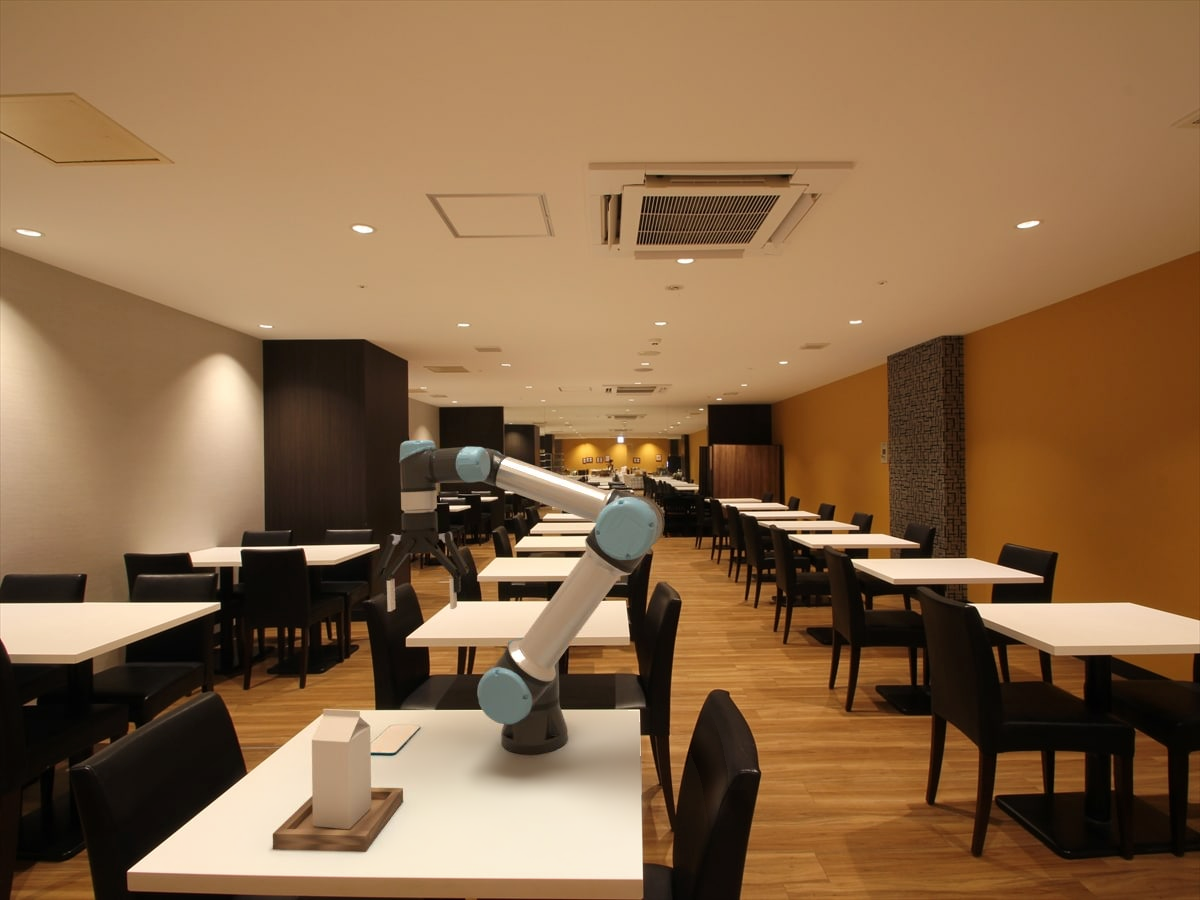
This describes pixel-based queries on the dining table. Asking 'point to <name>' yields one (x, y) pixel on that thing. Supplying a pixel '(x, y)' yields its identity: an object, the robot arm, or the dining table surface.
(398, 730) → the smartphone
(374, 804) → the holder
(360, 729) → the milk carton
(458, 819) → the dining table surface
